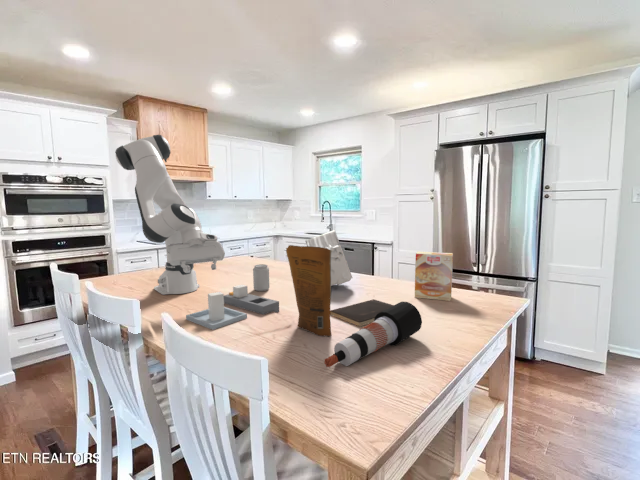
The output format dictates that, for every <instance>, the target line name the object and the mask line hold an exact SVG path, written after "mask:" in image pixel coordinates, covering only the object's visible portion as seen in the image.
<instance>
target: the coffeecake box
mask: <svg viewBox="0 0 640 480" xmlns="http://www.w3.org/2000/svg"><path fill="white" fill-rule="evenodd" d="M453 260H454V253H453V252H438V251H437V252H436V251H435V252H434V251H433V252H432V251H416V252H415V267H414V271H415V273H414V298H418V299H425V300H429V299H430V300H437V301H447V302H451V301H452V289H453V286H452V285H453V263H454V261H453Z"/></svg>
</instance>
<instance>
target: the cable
mask: <svg viewBox="0 0 640 480" xmlns="http://www.w3.org/2000/svg"><path fill="white" fill-rule="evenodd" d="M393 305H394V306H392V307H390V308H388V309H386V310H384V311H382V312H380V313H378V314H377V315H376V317H375V318H374V322H372V323H368V324H366V325H364V326H363V327H361V328H360V329H359V330H358V331H356V332H354V333H352V334H351V335H349V336H348V337H345V339H343V340H340V341H339V342H338V343H336V344H335V345H334V348H333V349H334V353H333V354H332V355H331V356H328V357H327V358H324V362H323V363H324V365H325V366H326V368H330V367H332V366H334V365H335V364H338V363H339V364H341V365H343V366H345V367H347V366H350V365H352V364H353V363H355V362H357V361H359V360H361V359H363V358H364V357H366V356H368V355H370V354H371V353H372V354H373V353H375V352H377V351H378V350H380V349H381V348H383V347H385V346H387V345H390V346H391V347H392V346H393V347H394V346H397V345H399V344H401V343H402V342H403V341H405V340H406V339H409V337H411V336H413V335H414V334H416V333H417V332H420V330H421V329H422V324H423V320H422V314H421V313H420V311H419V310H418V308H417V306H415V305H414V304H412V303H410V302H409V301H400V302H397V303H396V304H393Z"/></svg>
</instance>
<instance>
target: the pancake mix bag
mask: <svg viewBox="0 0 640 480" xmlns="http://www.w3.org/2000/svg"><path fill="white" fill-rule="evenodd" d="M285 249H286V250H285V254H286V257H287V260H288V264H289V268H290V275H291V279H292V284H293V289H294V294H295V295H294V296H295V300H296V306H297V310H298V318H297V319H298V320H297V327H298V328H299V329H301V330H305V331H307V332H309V333H312V334H314V335H316V336H319V337H329V336H332V335H333V334H332V328H331V326H332V324H331V315H330V310H331V302H332V301H331V298H332V297H331V296H332V286H331V252H332V251H331V250H329V249H327V248H322V247H311V246H307V245H306V246H305V245H304V246H303V245H302V246H300V245H293V244H288V246H287V247H286V248H285Z"/></svg>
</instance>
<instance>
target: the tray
mask: <svg viewBox="0 0 640 480" xmlns="http://www.w3.org/2000/svg"><path fill="white" fill-rule="evenodd" d="M224 317H225V319H221V320H216V321H211V320H210V319H209V309H208V308H207V309H203V310H200V311H196V312H193V313H189V314H186V315H185V320H187V321H188V322H191V323H194V324H197V325H200V326H202V327H204V328H207V329H210V330H214V331H215V330H216V329H217V330H218V329H219V328H222V327H225V326H228V325H231V324H233V323H234V324H235V323H237V322H240V321H243V320H246V319H248V314H247V313H245V312H242V311H239V310H235V309H232V308H229V307H226V306H224Z"/></svg>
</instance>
